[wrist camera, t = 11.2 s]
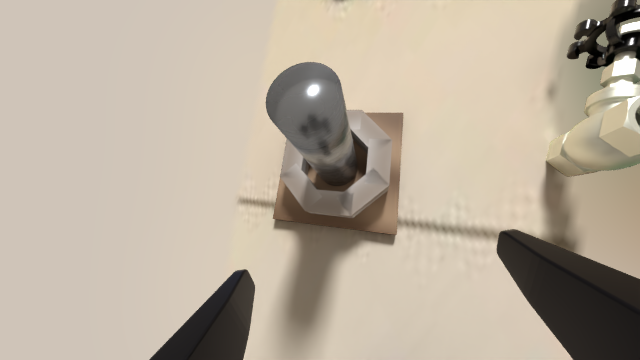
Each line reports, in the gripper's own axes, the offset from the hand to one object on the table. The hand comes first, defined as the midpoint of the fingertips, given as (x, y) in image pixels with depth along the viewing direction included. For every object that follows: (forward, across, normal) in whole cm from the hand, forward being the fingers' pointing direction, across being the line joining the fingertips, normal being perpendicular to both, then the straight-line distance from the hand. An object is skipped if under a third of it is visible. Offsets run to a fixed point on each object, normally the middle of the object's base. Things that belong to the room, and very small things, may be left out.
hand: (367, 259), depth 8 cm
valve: (+15, -21, +2) cm, 26 cm away
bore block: (+16, +1, +3) cm, 16 cm away
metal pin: (+15, +1, +3) cm, 15 cm away
